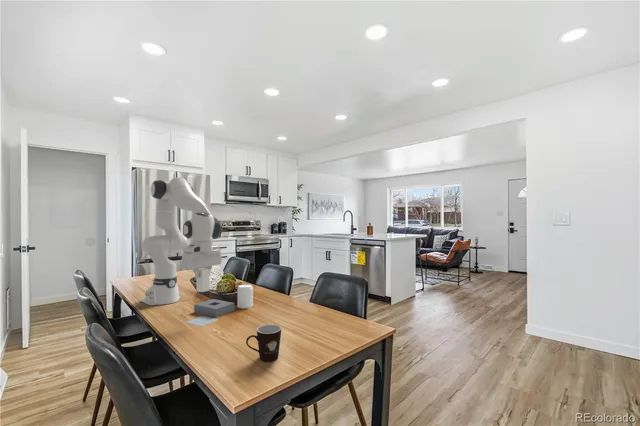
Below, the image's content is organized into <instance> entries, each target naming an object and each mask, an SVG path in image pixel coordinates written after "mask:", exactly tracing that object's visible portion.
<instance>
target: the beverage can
mask: <svg viewBox="0 0 640 426" xmlns="http://www.w3.org/2000/svg"><path fill="white" fill-rule="evenodd" d="M253 296H254V287H253V285H252V284H239V285H238V287H237V308H239V309H250V308H252V307H253V305H254V297H253Z"/></svg>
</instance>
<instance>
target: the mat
mask: <svg viewBox="0 0 640 426" xmlns="http://www.w3.org/2000/svg"><path fill="white" fill-rule="evenodd" d="M216 321H219V319H218V318H216V317H211V316H207V315H202V316H198V317H196V318H193V319H191V320H190V319H189V320H187V321H185V323H186V324H187V323H188V324H191V325H195V326H198V327H199V326H200V327H203V326H206V325H209V324H212V323H214V322H216Z"/></svg>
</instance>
